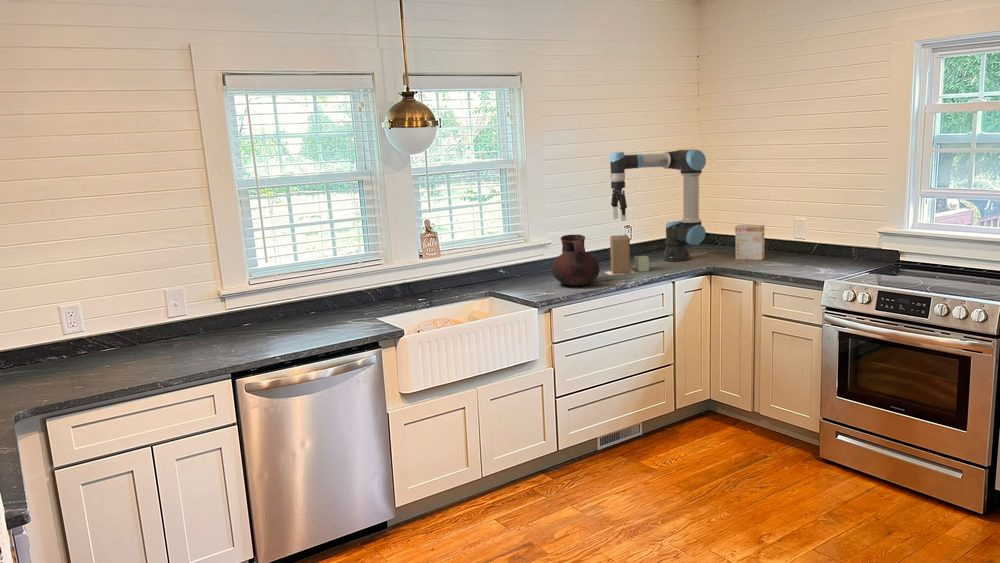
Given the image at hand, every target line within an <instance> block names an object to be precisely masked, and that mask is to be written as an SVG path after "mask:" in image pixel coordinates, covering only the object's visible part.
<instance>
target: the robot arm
mask: <svg viewBox="0 0 1000 563" xmlns="http://www.w3.org/2000/svg"><path fill="white" fill-rule="evenodd" d="M706 163H707V159H706V155H705V154H704V153H703V151H701V150H699V149H695V148H694V149H677V150H672V151H663V153H646V154H645V153H643V154H641V153H640V154H638V153H637V154H636V153H635V154H625V153H624V151H615V152H611V153H610V155H609V165H610V166H609V167H610V175H609V177H610V181H611V183H610V188H611V189H612V190H611V191H612V195H611V206H612V219H613V220H618V219H619V211H620V222H626V221H627V213H626V209H627V208H628V205H627V200H626V195H625V190H624V189H625V188H626V181H625V180H626V172H625V170H630V169H631V170H632V169H642V168H645V169H646V168H663V169H670V170H671V169H672V170H679V171H680V175H681V176H682V177H683V180H682V182H683V189H682V190H683V191H682V192H683V193H682V194H683V199H682V200H683V202H682V203H683V206H682V207H683V211H682V212H683V216H682V217H683V218H682V219H681V220H676V221H668V222H666V225H665V242H666V243H665V246H666V247H665V250H664V254H663V261H666V262H684V261H685V262H686V261H689V260H690V258H691V257H690V252H689V249H688V247H687V245H690V246H696V245H699V244H701V243H702V242H703V241H704V240H705V239H706V238H705V237H706V229H705V227H704V226H703V225H702V220H701V219H700V217H699V214H700V204H699V203H700V200H699V199H700V192H699V191H700V189H699V188H700V187H699V186H700V180H699V179H700V177H699V176H700V175H701V174H702V173H703V172H702V171H703V169H704V168H705V167H706ZM618 203H619V204H618ZM619 206H620V207H619Z"/></svg>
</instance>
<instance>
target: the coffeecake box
mask: <svg viewBox="0 0 1000 563" xmlns="http://www.w3.org/2000/svg"><path fill="white" fill-rule="evenodd" d="M734 231H735V232H734V233H735V237H734V238H735V248H734V249H735V250H734V251H735V260H736V261H737V260H738V259H739V260H738V261H740V260H741V261H742V260H743V261H745V260H746V259H747V260H746V261H762V259H763V260H764V259H765V225H764V224H758V225H757V224H756V225H755V224H746V225H745V224H742V225H741V224H738V225H736V226H735V228H734Z"/></svg>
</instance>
